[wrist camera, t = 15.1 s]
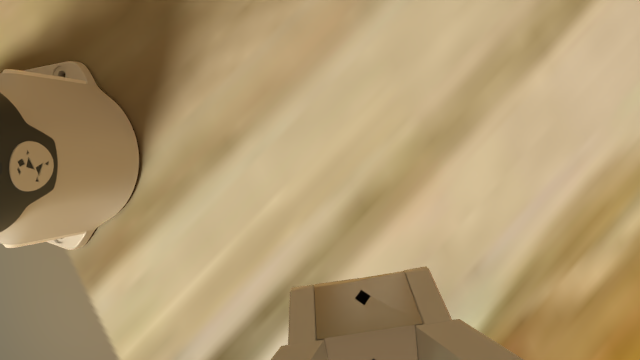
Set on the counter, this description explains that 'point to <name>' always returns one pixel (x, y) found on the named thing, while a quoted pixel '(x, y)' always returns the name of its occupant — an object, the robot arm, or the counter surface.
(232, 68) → the counter surface
